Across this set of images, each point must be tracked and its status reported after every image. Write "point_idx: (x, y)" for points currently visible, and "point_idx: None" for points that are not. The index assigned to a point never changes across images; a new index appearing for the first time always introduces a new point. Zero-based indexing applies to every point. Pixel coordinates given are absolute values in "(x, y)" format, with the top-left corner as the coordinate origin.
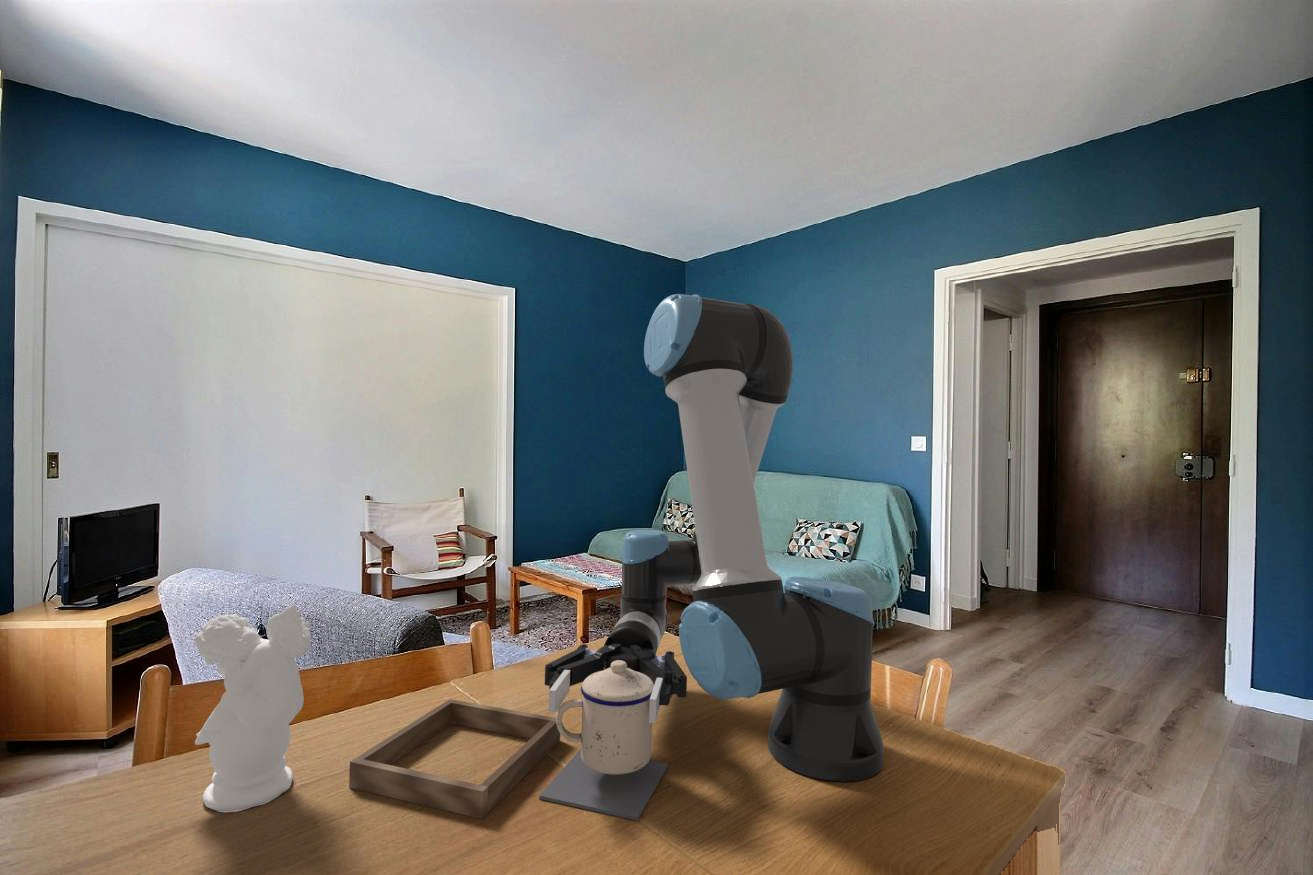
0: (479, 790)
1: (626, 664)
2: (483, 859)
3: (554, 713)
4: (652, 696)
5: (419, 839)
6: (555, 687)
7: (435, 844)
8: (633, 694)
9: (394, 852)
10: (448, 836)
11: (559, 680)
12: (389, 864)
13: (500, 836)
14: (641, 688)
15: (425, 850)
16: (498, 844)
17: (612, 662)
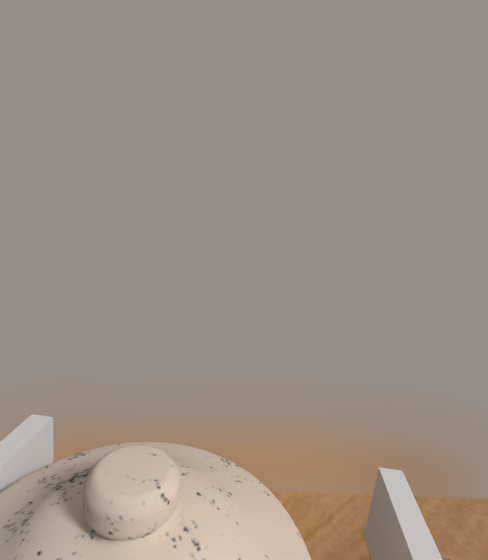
0: (443, 558)
1: (89, 472)
2: (350, 502)
3: (365, 535)
4: (32, 430)
5: (474, 543)
6: (395, 489)
7: (440, 532)
8: (95, 449)
9: (478, 518)
10: (438, 550)
11: (425, 553)
12: (460, 498)
13: (356, 548)
14: (44, 476)
15: (442, 520)
16: (348, 530)
17: (171, 470)
